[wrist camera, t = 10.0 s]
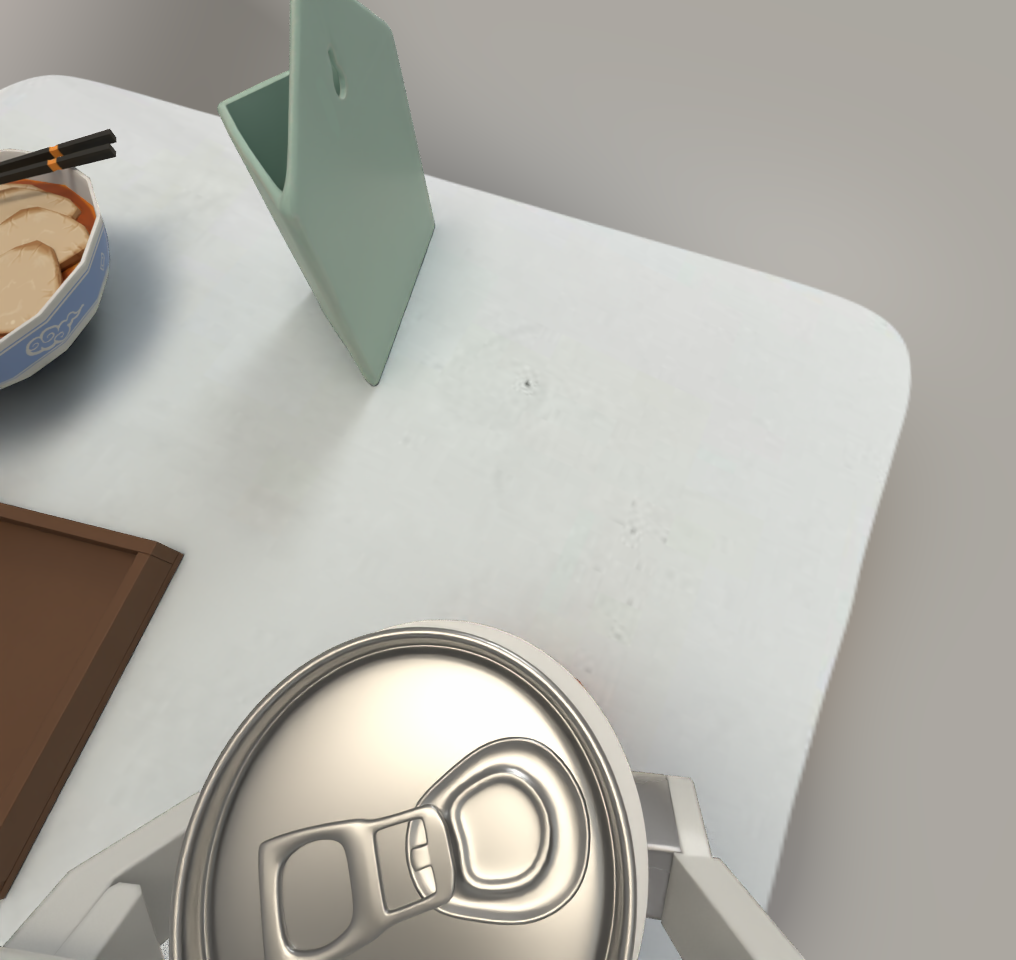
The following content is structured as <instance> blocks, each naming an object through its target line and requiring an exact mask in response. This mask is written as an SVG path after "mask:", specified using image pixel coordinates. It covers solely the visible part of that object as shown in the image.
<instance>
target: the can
mask: <svg viewBox="0 0 1016 960" xmlns="http://www.w3.org/2000/svg"><path fill="white" fill-rule="evenodd" d="M647 899H648V851H647V840H646V831H645V825H644V818H643V813H642V808H641V804H640V799H639V795H638V792H637V788H636V785H635V781H634V778H633V775H632V772H631V769H630V767H629V764H628V761H627V759H626V756H625V754H624V752H623V749H622V747H621V745H620V743H619V741H618V739H617V737H616V735H615V733H614V731H613V729H612V727H611V726H610V724H609V722H608V720H607V719H606V717H605V716H604V714H603V713H602V711H601V709H600V708H599V707H598V705H597V704H596V702H595V701H594V700H593V698H592V697H591V696H590V695H589V693H588V692H587V691H586V690H585V689H584V687H583V686H582V685H581V684H580V683H579V682H578V681H577V680H576V679H575V678H574V677H573V676H572V675H571V674H570V673H569V672H568V671H567V670H566V669H565V668H564V667H563V666H561V665H560V664H559V663H558V662H557V661H555V660H554V659H553V658H552V657H550V656H549V655H547V654H546V653H545V652H543V651H541V650H540V649H538V648H537V647H535V646H533V645H532V644H530V643H528V642H527V641H525V640H523V639H521V638H519V637H517V636H514V635H512V634H510V633H507V632H505V631H502V630H499V629H496V628H493V627H490V626H486V625H482V624H478V623H473V622H467V621H458V620H424V621H416V622H410V623H404V624H400V625H396V626H392V627H389V628H385V629H382V630H380V631H377V632H374V633H370V634H367V635H363V636H360V637H357V638H354V639H352V640H349V641H347V642H344V643H342V644H340V645H337V646H335V647H333V648H331V649H329V650H327V651H325V652H323V653H322V654H320V655H318V656H316V657H315V658H313V659H311V660H310V661H308V662H307V663H305V664H304V665H302V666H301V667H299V668H298V669H297V670H295V671H294V672H293V673H291V674H290V675H289V676H287V677H286V678H285V679H284V680H283V681H281V682H280V683H279V684H278V685H277V686H276V687H275V688H273V689H272V690H271V691H270V692H269V693H268V694H267V695H266V696H265V697H264V698H263V699H262V700H261V701H260V702H259V703H258V704H257V706H256V707H255V708H254V709H253V710H252V711H251V712H250V714H249V715H248V716H247V717H246V718H245V720H244V721H243V722H242V723H241V725H240V726H239V727H238V729H237V730H236V731H235V733H234V734H233V736H232V737H231V739H230V740H229V741H228V743H227V745H226V746H225V748H224V749H223V751H222V752H221V754H220V756H219V757H218V759H217V761H216V763H215V764H214V766H213V768H212V770H211V772H210V774H209V776H208V778H207V780H206V782H205V784H204V786H203V788H202V790H201V792H200V795H199V797H198V799H197V802H196V804H195V807H194V809H193V812H192V815H191V817H190V820H189V823H188V826H187V829H186V832H185V836H184V839H183V843H182V846H181V850H180V854H179V858H178V863H177V868H176V872H175V878H174V884H173V891H172V898H171V908H170V921H169V960H637V959H638V955H639V951H640V947H641V942H642V937H643V931H644V926H645V918H646V910H647Z"/></svg>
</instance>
